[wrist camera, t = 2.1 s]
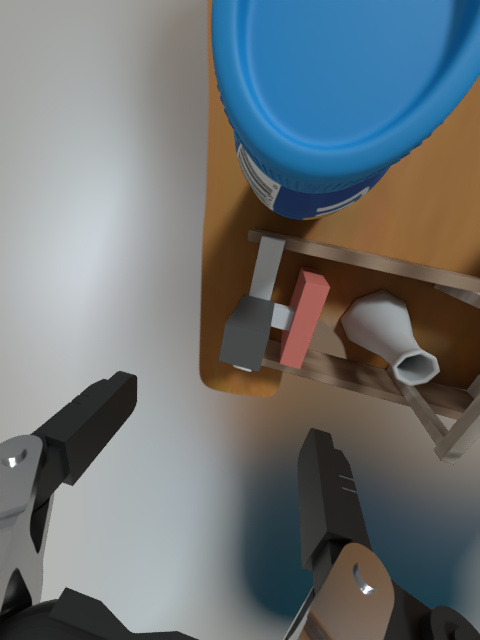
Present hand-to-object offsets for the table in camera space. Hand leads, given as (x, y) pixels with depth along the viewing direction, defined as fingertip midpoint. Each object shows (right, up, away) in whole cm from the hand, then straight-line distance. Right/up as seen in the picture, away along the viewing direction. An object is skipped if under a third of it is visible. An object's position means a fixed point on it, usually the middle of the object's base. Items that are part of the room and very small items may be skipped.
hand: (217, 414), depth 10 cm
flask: (+17, +4, +17) cm, 24 cm away
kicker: (+6, +7, +18) cm, 20 cm away
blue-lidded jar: (+7, +19, +13) cm, 24 cm away
